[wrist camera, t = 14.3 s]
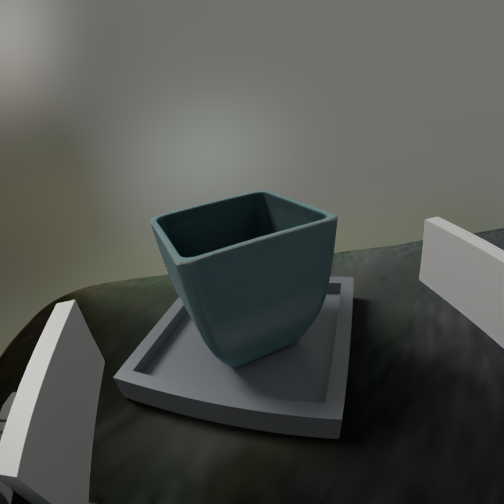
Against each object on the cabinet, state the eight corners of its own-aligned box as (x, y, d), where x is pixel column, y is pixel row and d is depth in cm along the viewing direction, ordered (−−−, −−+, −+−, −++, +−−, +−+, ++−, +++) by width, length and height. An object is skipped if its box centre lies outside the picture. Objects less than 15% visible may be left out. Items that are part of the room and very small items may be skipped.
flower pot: (276, 289, 27) (264, 186, 24) (340, 344, 20) (342, 214, 16) (178, 325, 24) (148, 217, 21) (217, 401, 17) (176, 265, 13)
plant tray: (352, 297, 26) (353, 276, 26) (339, 439, 14) (342, 419, 14) (203, 290, 31) (199, 272, 30) (124, 397, 19) (113, 377, 18)
